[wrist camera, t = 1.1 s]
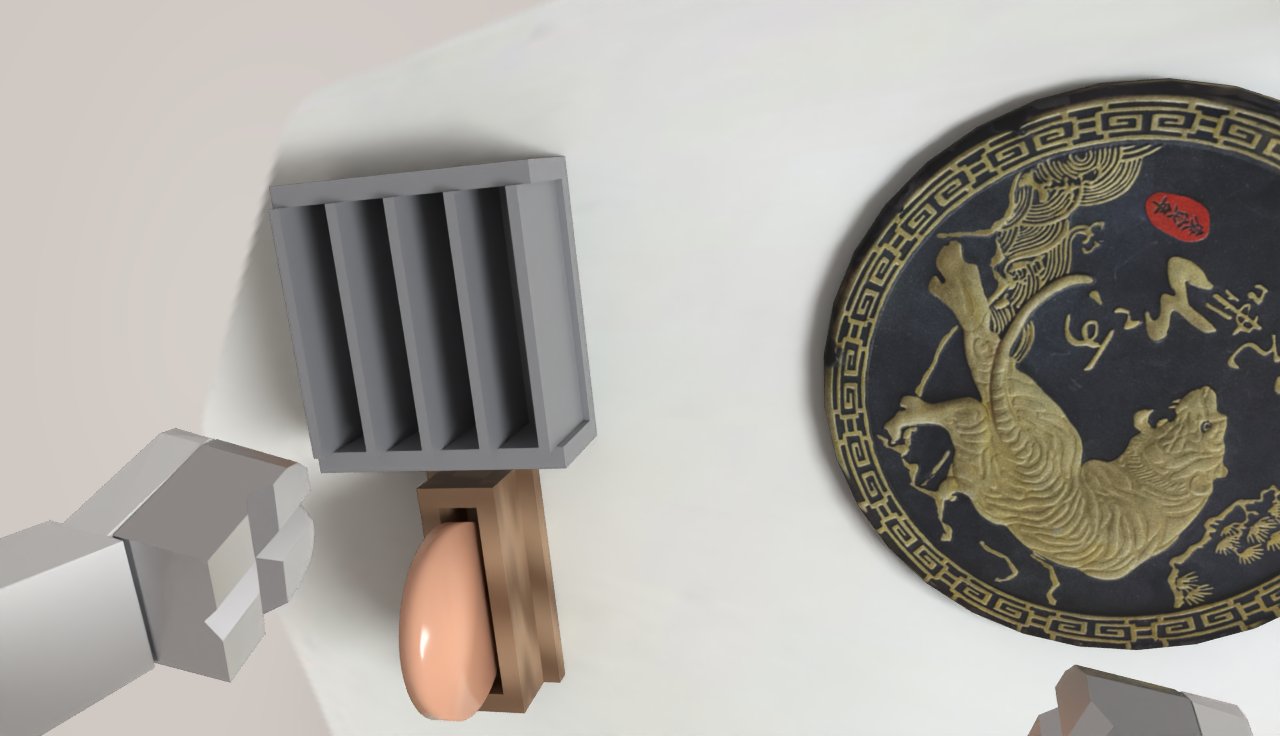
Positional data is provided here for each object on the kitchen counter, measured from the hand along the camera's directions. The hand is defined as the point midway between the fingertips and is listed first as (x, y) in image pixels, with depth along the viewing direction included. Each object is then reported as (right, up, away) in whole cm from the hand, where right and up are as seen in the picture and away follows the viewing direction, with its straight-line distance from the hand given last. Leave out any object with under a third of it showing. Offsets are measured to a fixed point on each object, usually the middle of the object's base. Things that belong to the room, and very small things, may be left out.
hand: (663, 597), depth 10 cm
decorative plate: (+25, +2, +40) cm, 47 cm away
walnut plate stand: (-9, -10, +51) cm, 53 cm away
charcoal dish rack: (-11, +6, +48) cm, 49 cm away
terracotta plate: (-11, -12, +45) cm, 48 cm away
